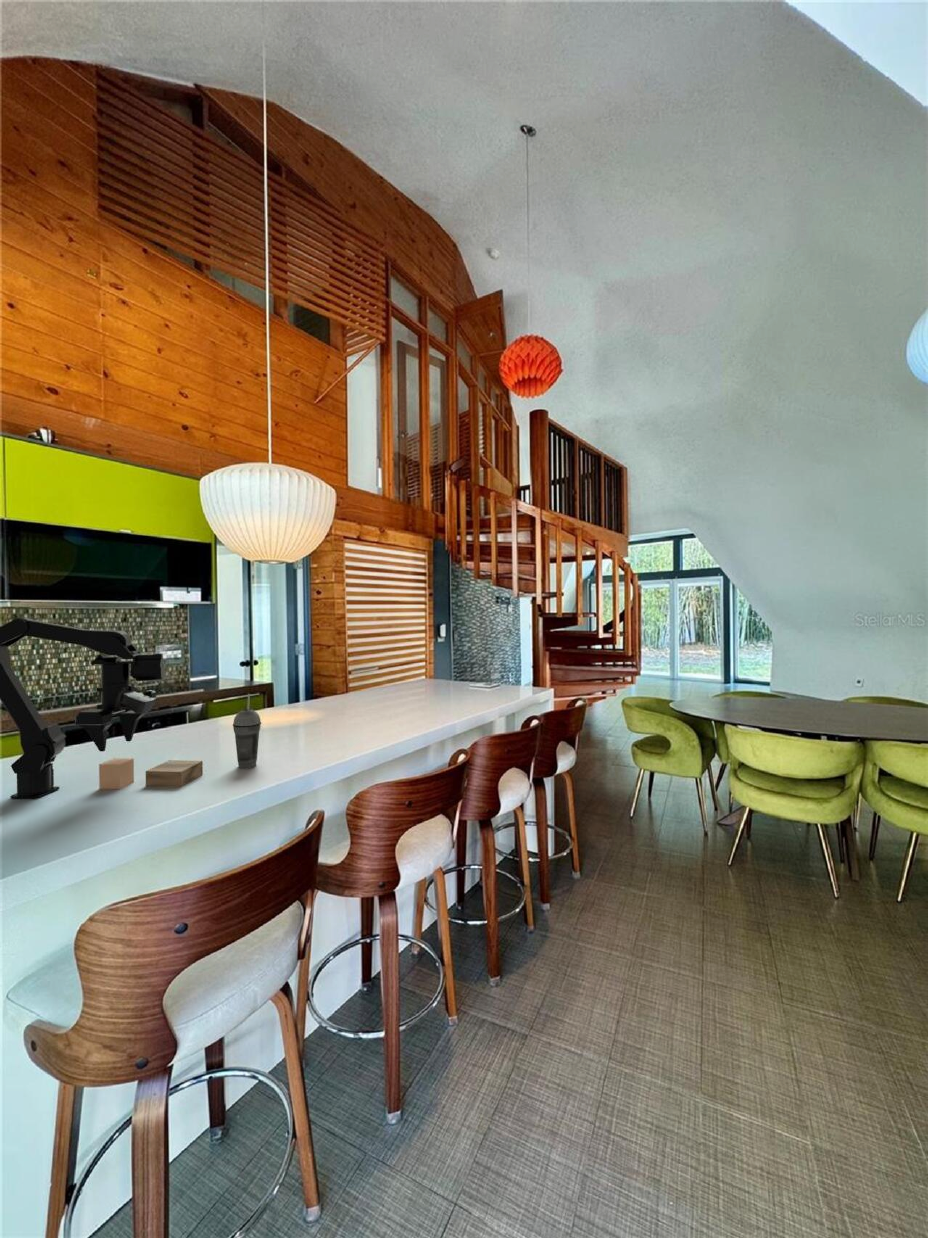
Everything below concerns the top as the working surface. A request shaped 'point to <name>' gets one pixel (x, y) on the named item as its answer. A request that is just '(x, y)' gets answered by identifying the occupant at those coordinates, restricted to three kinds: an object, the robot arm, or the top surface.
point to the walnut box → (174, 773)
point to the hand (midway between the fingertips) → (116, 746)
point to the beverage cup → (247, 736)
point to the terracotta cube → (116, 773)
